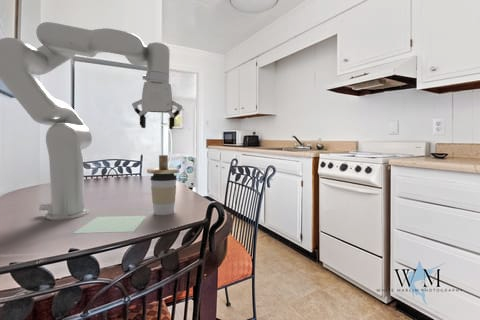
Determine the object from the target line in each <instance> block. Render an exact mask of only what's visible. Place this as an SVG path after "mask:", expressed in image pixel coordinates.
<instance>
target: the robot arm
mask: <svg viewBox="0 0 480 320" xmlns="http://www.w3.org/2000/svg"><path fill="white" fill-rule="evenodd" d="M35 30H36V37H37V39H38V41H39V43H40V44H41V46H39V47H38V48H35V46H32V45H31V44H29V43H27V42H25V41H23V40H21V39H18V38H16V37H14V38H13V37H3V38H0V80H1V82H2V83H3V84H4V86H6V88H7V89H8V90H9V91H10V92H11V94H12V95H13V97H15V99H16V100H17V102H18V103H19V104H20V105H21V107H22V108H23V109H24V110H25V112H26V113H27V114H28V115H29V116H30V118H31V120H33V121H35V122H37V123H38V124H41V125H45V126H50V127H49V128H48V130H47V131H46V135H45V143H46V149H47V152H48V160H49V181H50V203H40V205H39V208H38V209H39V211H47V213H45V219H46V220H51V221H58V220H59V221H60V220H72V219H77V218H80V217H81V218H82V217H85V216H87V215H89V214H90V212H91V211H90V209H89V208H86V207H85V180H84V175H85V174H84V171H85V170H84V161H83V160H84V158H83V154H82V151H83V150H85V149H87V148H89V146H90V145H91V144H92V140H93V136H92V133H91V131H90V129H89V127H87V125H86V124H85V123H84V121H83V119H81V118H80V116H79V115H78V114H77V112H76V111H75V110H74V109H73V108H72V107H71V106H70V105H69V104H68V103H67V102H65V101H63V100H61V99H58V98H55V97H53V96H52V95H51V94H50V93H49V91H47V89H46V88H45V87H44V86H43V84H42V83H41V81H39V79H38V78H37V77H36V76H37V75H38V76H41V75H45V74H48V73H49V72H51V71H54V70H55V69H57V68H58V67H60V66H62V65H64V64H65V63H66V62H68V61H69V60H71V59H72V58H73V57H75V56H77V55H78V56H84V57H87V58H94V57H95V56H96V55H98V54H101V53H110V54H116V55H119V56H120V55H121V56H124V57H125V58H126V60H127V61H128V62H129V63H130V64H132V66H135V67H145V66H146V74H145V75H142V80H144V82H143V87H142V94H141V99H139V100H137V101H134V102H133V103H132V104H131V106H132V107H133V109H134V112H135V113H136V114H137V115H138V116H139V126H140V128H142V129H146V124H147V123H146V121H147V117H146V114H147V113H148V112H149V113H163V114H164V113H165V114H169V120H168V121H169V122H168V123H169V127H168V129H170V130H173V129H174V127H175V119H176V117H177V116H179V114H180V113H181V111H182V110H183V106H182V105H181V104H179V103H178V102H176V101H174V100H173V91H172V90H173V89H172V85H171V83H170V57H171V55H170V54H171V52H170V47H169V46H168V45H167V44H166V43H163V42H161V41H151V42H149V43H148V44H147V45H145V44H144V42H143V41H142V38H140V37H139V36H138V35H136V34H134V33H132V32H128V31H125V30H119V29H115V28H108V27H107V28H105V27H104V28H96V29H88V28H82V27H77V26H71V25H67V24H61V23H57V22H53V21H45V22H41V23H39V25H38V26H37V28H36V29H35ZM34 75H35V76H34ZM139 106H141V110H140V109H139ZM173 106H174V107H176V110H175V111H174V112H173V108H174V107H173Z"/></svg>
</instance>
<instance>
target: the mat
mask: <svg viewBox="0 0 480 320" xmlns="http://www.w3.org/2000/svg"><path fill="white" fill-rule="evenodd" d="M146 217H148V216H147V215H130V216H129V215H126V216H125V215H124V216H123V215H120V216H119V215H118V216H117V215H115V216H96V217H95V218H93V219H92V220H91V221H89V222H87V223H86V224H84V225H83V226H82V227H80V228H79V229H77V230H76V231H74V232H73V234H100V233H101V234H103V233H107V234H108V233H131V232H133V233H134V232H135V231H136V230H137V229H138V227H140V225H141V224H142V223H143V222H144V220H145V219H146Z"/></svg>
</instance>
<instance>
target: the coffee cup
mask: <svg viewBox="0 0 480 320" xmlns="http://www.w3.org/2000/svg"><path fill="white" fill-rule="evenodd" d="M177 179H178V178H177V175H175V173H172V174H152V175H151V176H150V181H151V182H150V183H151V185H150V190H151V199H152V201H151V202H152V206H153V207H152V208H153V214H154V215H156V216H167V215H168V216H169V215H173V214H174V212H175V203H176V193H177V192H176V191H177Z"/></svg>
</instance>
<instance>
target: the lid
mask: <svg viewBox="0 0 480 320" xmlns="http://www.w3.org/2000/svg"><path fill="white" fill-rule="evenodd" d="M146 173H147V174H149V175H150V174H151V175H153V174H172V173H174V174H177V173H180V168H174V167H169V155H168V154H163V155H162V154H161V155H160V154H159V155H158V167H156V168H155V167H154V168H147V169H146Z"/></svg>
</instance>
